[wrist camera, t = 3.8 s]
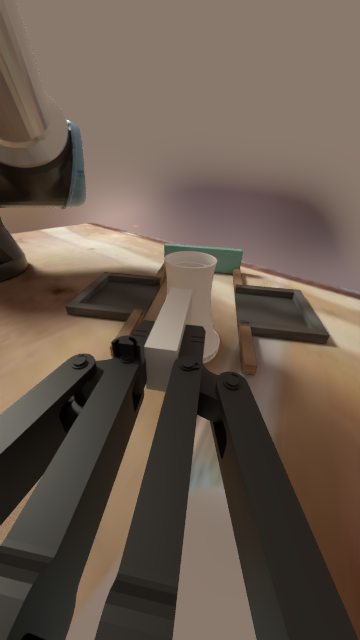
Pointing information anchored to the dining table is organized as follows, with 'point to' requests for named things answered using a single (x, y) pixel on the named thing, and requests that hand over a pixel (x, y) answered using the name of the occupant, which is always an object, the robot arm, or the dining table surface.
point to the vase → (195, 291)
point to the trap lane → (251, 302)
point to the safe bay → (224, 256)
